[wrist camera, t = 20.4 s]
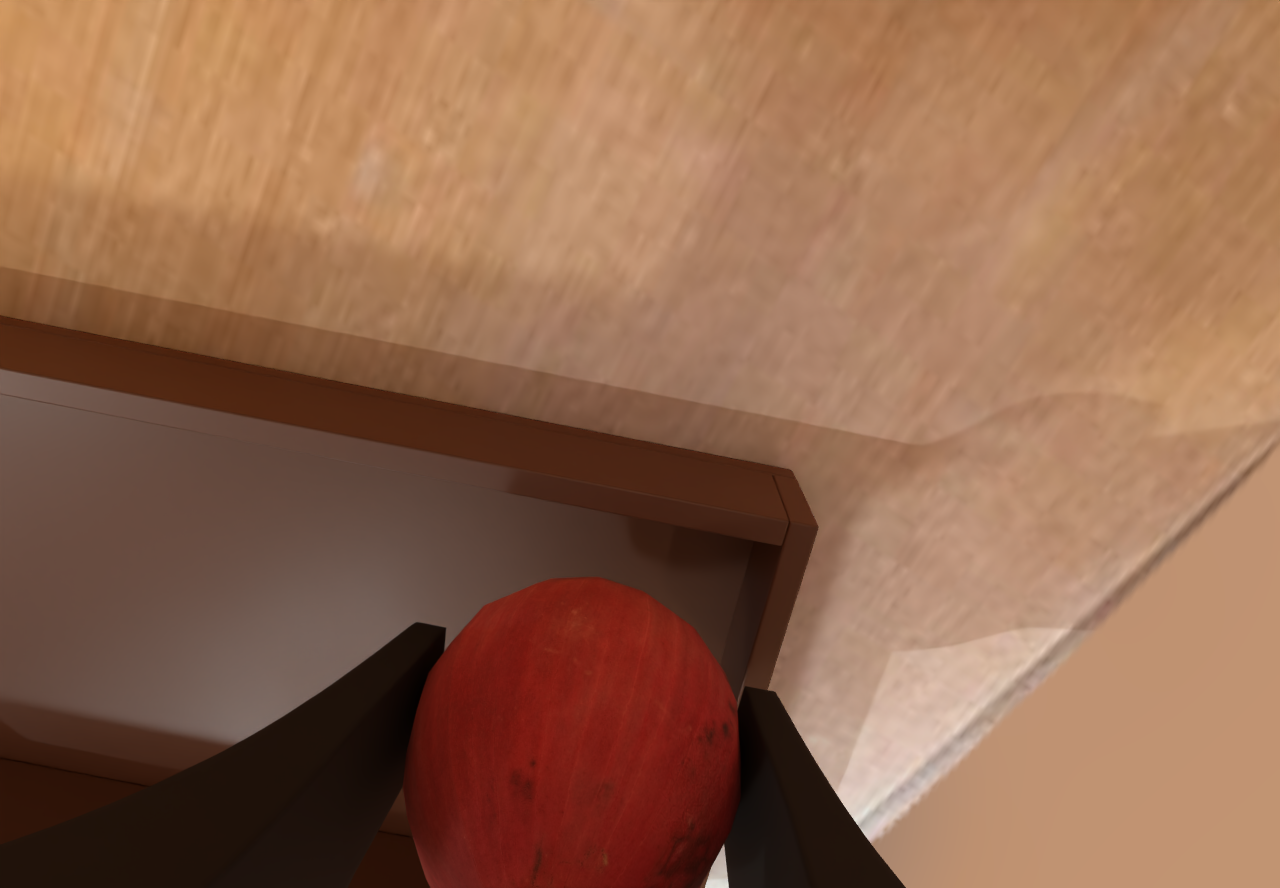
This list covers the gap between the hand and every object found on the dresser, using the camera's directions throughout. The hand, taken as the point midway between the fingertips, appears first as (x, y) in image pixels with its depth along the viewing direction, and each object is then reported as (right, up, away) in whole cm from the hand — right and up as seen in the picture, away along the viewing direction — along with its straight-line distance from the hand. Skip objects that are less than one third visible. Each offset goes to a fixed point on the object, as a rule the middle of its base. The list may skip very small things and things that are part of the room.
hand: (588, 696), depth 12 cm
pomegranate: (0, +1, +2) cm, 3 cm away
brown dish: (-11, 0, +5) cm, 12 cm away
